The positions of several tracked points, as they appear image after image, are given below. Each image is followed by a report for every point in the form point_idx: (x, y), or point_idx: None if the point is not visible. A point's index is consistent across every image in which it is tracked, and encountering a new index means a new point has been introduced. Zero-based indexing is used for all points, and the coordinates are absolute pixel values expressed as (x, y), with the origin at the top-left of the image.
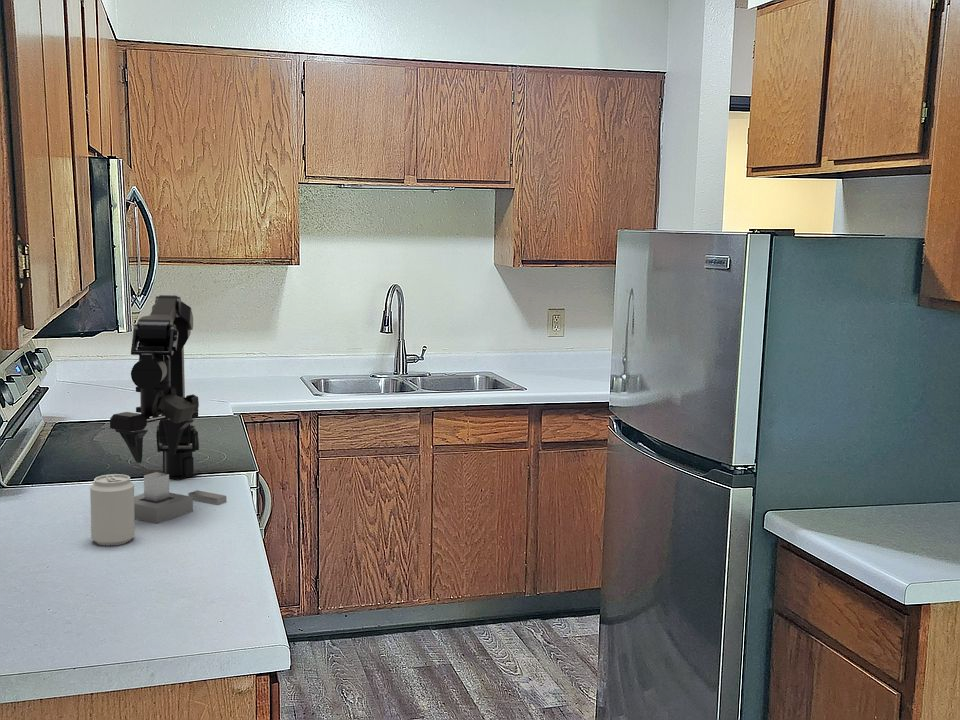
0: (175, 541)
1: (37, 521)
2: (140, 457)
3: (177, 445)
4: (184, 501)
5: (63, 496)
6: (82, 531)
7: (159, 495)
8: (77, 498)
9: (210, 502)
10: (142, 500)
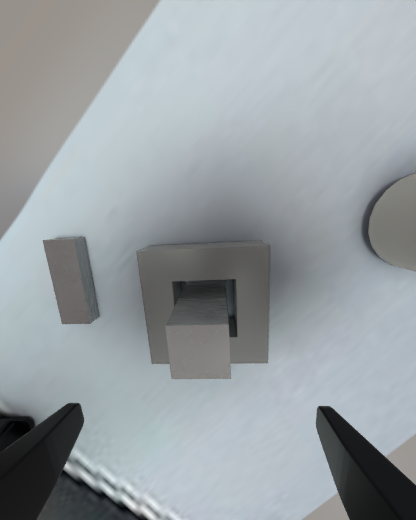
0: (349, 90)
1: (364, 422)
2: (354, 437)
3: (10, 450)
4: (169, 249)
5: (227, 486)
6: (379, 320)
7: (216, 295)
8: (222, 464)
9: (86, 257)
10: None
